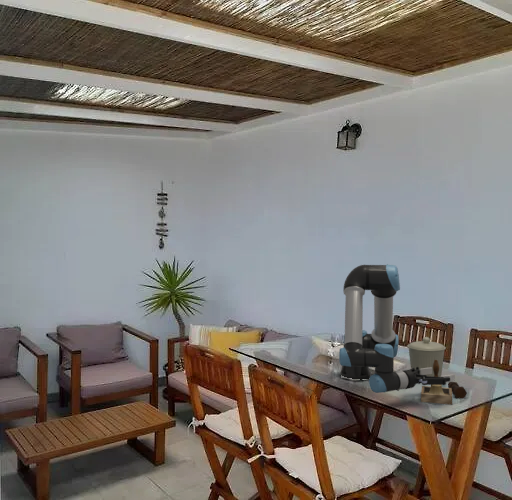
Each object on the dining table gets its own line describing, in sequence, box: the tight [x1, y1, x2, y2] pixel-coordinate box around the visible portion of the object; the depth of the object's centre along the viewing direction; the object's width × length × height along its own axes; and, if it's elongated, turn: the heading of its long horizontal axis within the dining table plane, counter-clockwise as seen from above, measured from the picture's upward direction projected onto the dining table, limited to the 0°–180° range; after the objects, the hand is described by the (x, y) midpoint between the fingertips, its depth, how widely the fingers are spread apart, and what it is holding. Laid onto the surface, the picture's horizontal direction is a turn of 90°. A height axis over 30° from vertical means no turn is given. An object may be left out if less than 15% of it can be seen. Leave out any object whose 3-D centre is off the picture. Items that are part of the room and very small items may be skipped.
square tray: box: [420, 385, 453, 405], centre depth 228 cm, size 12×12×4 cm
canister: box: [406, 336, 447, 378], centre depth 258 cm, size 18×18×21 cm
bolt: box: [447, 381, 468, 400], centre depth 235 cm, size 6×5×15 cm
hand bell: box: [428, 360, 445, 395], centre depth 227 cm, size 8×8×16 cm
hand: (442, 374), depth 229 cm, fingers open, 13 cm apart
